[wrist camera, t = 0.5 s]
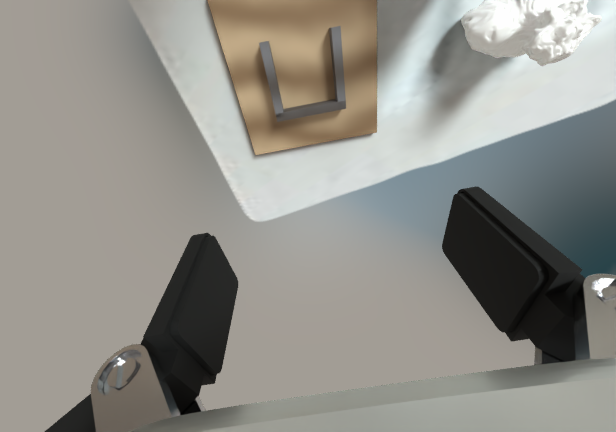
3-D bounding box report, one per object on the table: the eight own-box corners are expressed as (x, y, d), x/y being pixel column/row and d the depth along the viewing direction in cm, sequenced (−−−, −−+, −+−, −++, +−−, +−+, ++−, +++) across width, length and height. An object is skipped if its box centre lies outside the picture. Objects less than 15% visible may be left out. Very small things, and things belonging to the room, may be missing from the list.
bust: (438, 40, 32) (472, 110, 29) (464, -31, 25) (514, 53, 21) (535, 10, 31) (581, 80, 28) (593, -73, 23) (665, 9, 20)
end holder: (207, -6, 26) (199, -10, 24) (374, -42, 25) (383, -51, 23) (256, 152, 37) (253, 160, 34) (374, 130, 36) (381, 136, 34)
